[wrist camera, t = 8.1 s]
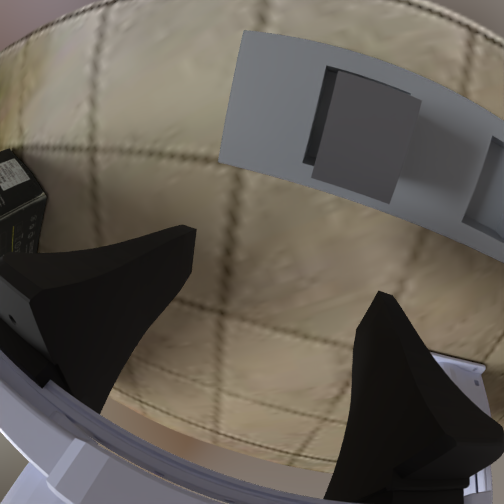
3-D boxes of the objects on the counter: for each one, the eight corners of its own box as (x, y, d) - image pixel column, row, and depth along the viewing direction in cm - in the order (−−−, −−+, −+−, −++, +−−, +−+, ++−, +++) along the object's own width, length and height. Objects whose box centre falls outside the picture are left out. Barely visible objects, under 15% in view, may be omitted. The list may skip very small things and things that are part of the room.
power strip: (558, 172, 11) (584, 187, 8) (521, 260, 16) (541, 285, 13) (258, 40, 15) (240, 27, 12) (235, 153, 19) (213, 164, 16)
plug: (386, 103, 14) (421, 100, 8) (368, 163, 16) (389, 204, 10) (338, 87, 15) (338, 70, 8) (322, 148, 17) (310, 177, 10)
